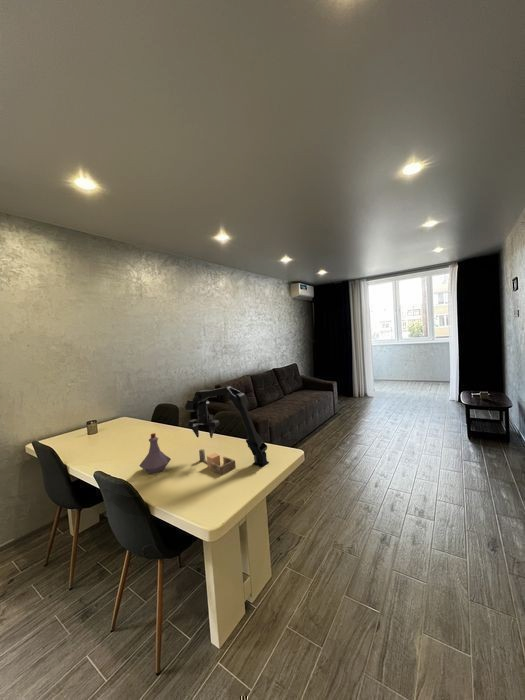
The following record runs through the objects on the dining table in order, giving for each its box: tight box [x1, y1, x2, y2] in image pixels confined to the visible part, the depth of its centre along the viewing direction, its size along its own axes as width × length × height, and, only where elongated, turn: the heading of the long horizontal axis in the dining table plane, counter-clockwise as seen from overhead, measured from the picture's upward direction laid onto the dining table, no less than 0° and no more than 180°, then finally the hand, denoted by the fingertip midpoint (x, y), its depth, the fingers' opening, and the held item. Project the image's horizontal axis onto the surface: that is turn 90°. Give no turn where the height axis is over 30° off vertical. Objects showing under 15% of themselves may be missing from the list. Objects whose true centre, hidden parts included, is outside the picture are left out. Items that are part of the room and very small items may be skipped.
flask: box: [138, 432, 172, 475], centre depth 147 cm, size 16×16×20 cm
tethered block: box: [198, 448, 222, 469], centre depth 150 cm, size 16×5×6 cm, turn 44°
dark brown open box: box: [210, 456, 237, 476], centre depth 142 cm, size 9×10×4 cm
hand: (204, 437), depth 158 cm, fingers open, 9 cm apart
